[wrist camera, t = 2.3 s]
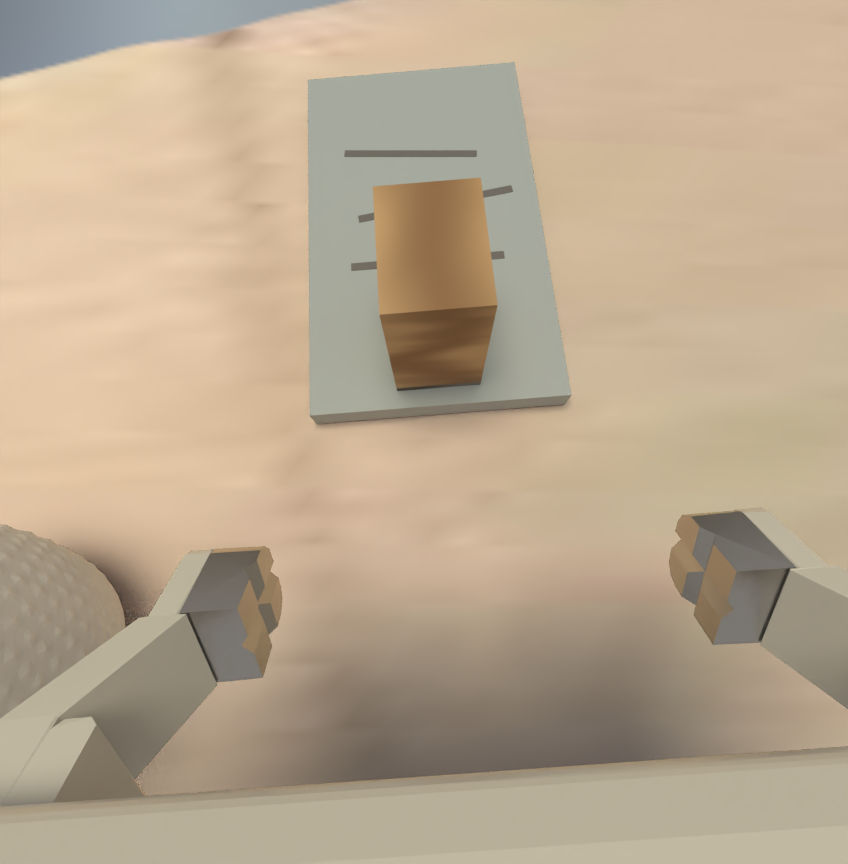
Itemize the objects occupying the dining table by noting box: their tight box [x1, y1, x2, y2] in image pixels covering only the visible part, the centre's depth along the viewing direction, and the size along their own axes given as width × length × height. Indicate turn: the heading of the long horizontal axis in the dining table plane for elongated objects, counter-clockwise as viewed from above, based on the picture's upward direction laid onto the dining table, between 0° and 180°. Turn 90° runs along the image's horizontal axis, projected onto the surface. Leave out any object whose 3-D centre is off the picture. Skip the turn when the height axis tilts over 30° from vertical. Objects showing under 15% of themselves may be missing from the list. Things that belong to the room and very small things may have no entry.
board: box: [308, 62, 571, 424], centre depth 30 cm, size 14×24×2 cm, turn 4°
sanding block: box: [373, 178, 498, 391], centre depth 23 cm, size 4×6×8 cm
